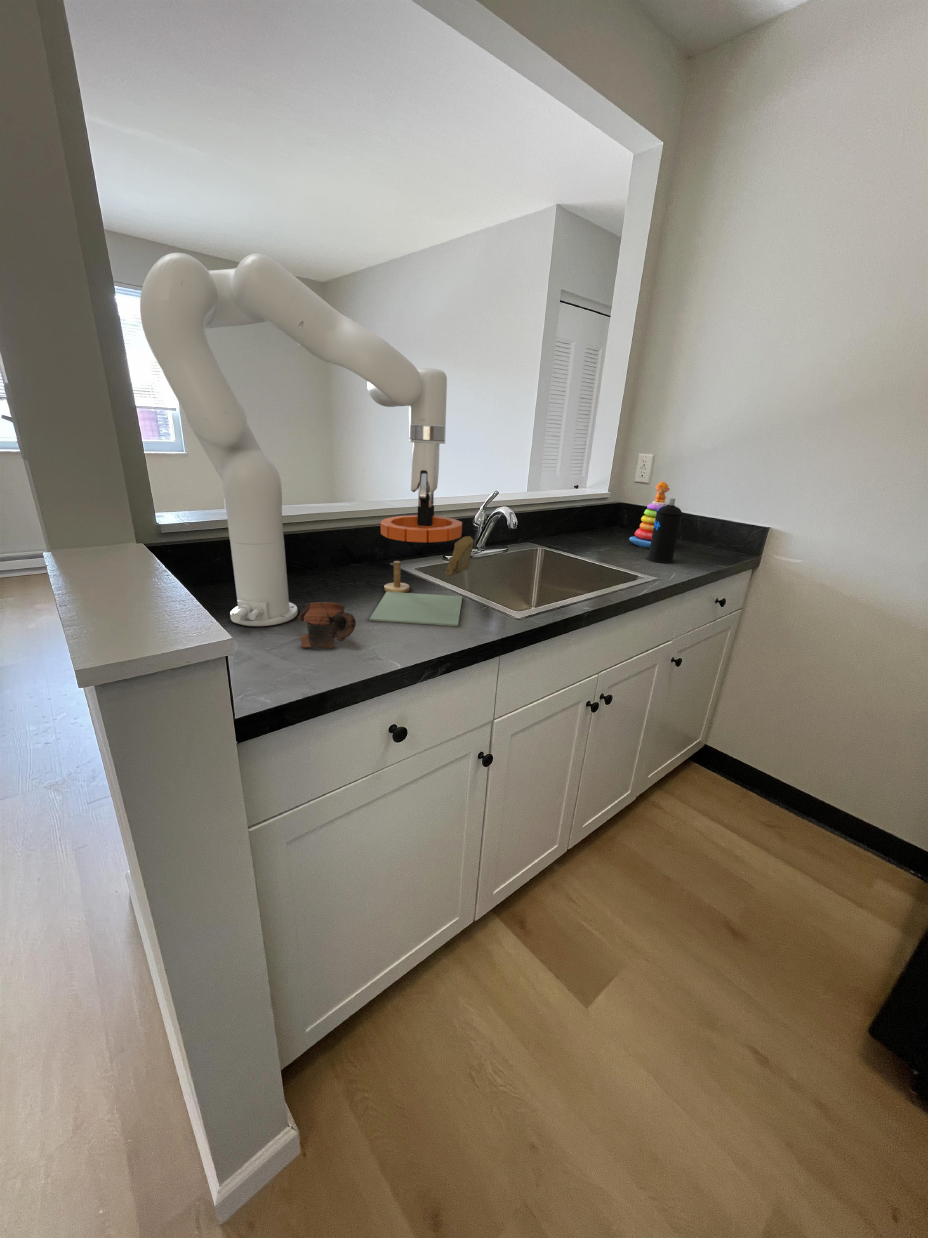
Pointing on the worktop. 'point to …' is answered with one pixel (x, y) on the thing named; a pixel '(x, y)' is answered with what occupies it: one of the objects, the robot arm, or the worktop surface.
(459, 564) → the rock
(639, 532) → the stacking toy
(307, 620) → the pottery mug
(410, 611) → the mat
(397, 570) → the wooden peg disc
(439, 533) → the ring
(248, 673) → the worktop surface
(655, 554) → the aerosol can
